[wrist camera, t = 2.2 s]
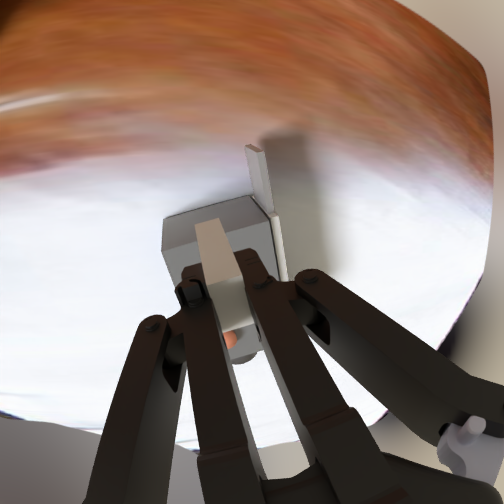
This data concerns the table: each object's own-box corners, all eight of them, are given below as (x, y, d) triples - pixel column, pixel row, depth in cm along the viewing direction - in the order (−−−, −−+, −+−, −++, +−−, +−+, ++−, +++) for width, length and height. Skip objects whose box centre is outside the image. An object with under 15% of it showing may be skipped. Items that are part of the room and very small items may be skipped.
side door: (240, 144, 31) (258, 155, 24) (249, 142, 31) (269, 152, 25) (265, 271, 39) (284, 306, 33) (272, 269, 39) (292, 303, 33)
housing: (163, 219, 33) (161, 255, 25) (257, 192, 34) (283, 220, 27) (206, 336, 42) (216, 383, 35) (279, 314, 44) (301, 356, 36)
